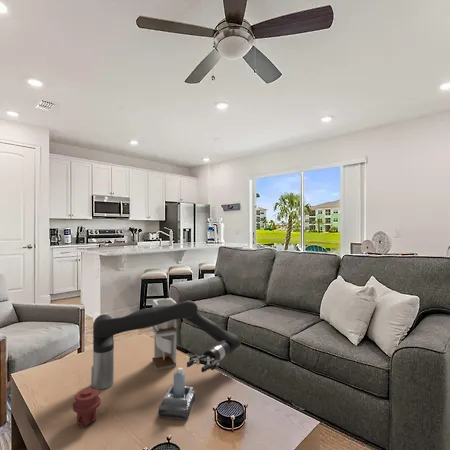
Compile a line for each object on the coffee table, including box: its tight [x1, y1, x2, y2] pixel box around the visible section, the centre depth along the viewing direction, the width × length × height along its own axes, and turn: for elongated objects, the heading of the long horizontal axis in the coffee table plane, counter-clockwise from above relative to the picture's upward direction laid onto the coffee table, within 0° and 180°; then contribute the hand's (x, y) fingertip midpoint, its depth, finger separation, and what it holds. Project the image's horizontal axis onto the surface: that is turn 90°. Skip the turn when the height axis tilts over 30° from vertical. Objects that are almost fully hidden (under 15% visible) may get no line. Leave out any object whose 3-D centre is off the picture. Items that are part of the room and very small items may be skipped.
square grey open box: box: [157, 384, 196, 421], centre depth 130 cm, size 12×14×6 cm
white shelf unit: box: [151, 297, 178, 371], centre depth 170 cm, size 11×11×35 cm
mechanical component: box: [72, 388, 101, 428], centre depth 121 cm, size 12×10×10 cm
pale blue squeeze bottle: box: [173, 367, 186, 398], centre depth 132 cm, size 5×5×12 cm
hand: (194, 367), depth 141 cm, fingers open, 8 cm apart
